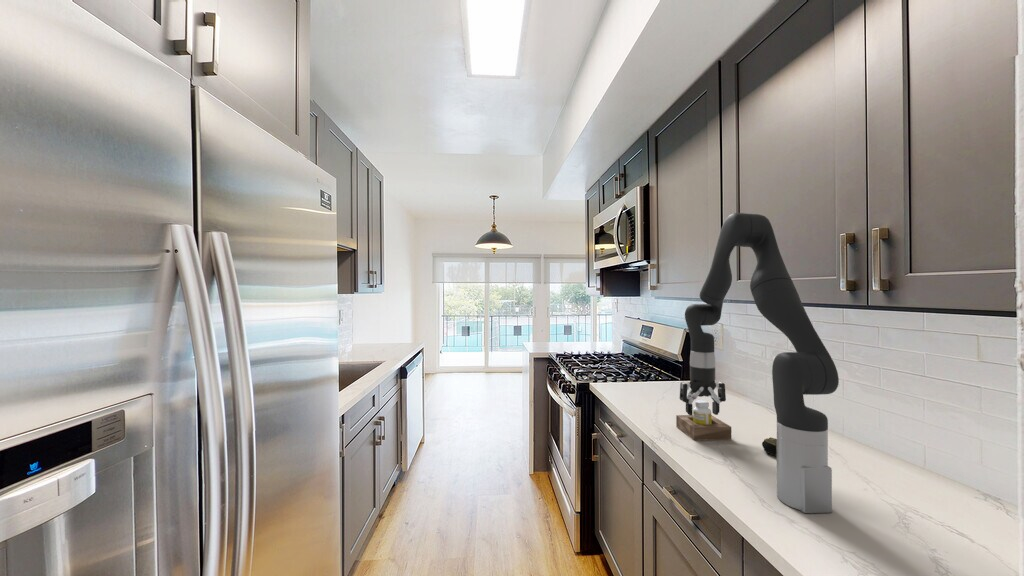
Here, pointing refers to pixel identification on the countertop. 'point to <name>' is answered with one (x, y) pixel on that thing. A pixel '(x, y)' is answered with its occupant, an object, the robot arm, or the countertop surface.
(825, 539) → the countertop surface
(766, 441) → the tape measure
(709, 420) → the supplement bottle
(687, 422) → the socket block
